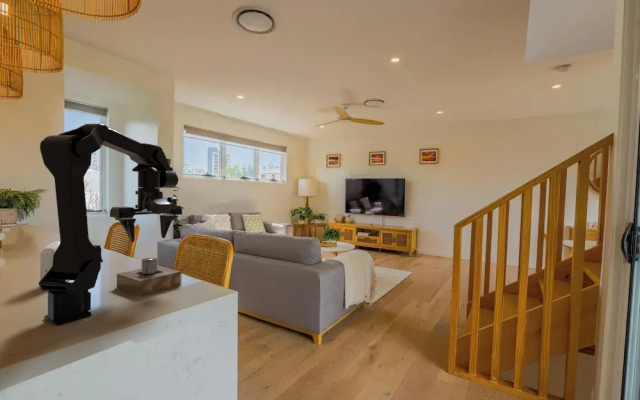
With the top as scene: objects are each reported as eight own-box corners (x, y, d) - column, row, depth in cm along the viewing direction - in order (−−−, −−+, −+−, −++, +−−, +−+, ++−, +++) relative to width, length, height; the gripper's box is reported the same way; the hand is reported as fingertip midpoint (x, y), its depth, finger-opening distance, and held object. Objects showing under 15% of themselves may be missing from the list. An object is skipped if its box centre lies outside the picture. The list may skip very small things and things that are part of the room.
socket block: (140, 295, 81) (140, 281, 81) (116, 287, 87) (116, 273, 87) (180, 284, 91) (180, 271, 91) (157, 277, 97) (157, 265, 97)
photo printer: (56, 288, 84) (56, 244, 84) (37, 290, 83) (37, 245, 83) (74, 278, 94) (74, 239, 94) (57, 279, 93) (57, 239, 93)
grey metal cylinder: (146, 289, 86) (146, 261, 86) (138, 286, 88) (138, 259, 88) (159, 285, 90) (160, 258, 90) (151, 283, 92) (152, 257, 92)
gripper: (130, 187, 78) (129, 248, 79) (193, 188, 94) (193, 238, 95) (108, 187, 84) (108, 243, 84) (172, 188, 100) (171, 235, 100)
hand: (148, 239), depth 91 cm, fingers open, 9 cm apart
